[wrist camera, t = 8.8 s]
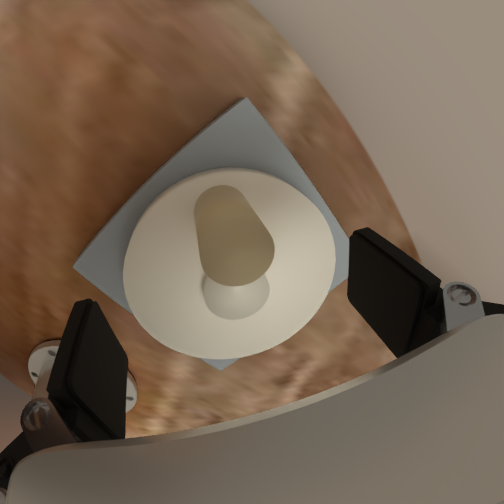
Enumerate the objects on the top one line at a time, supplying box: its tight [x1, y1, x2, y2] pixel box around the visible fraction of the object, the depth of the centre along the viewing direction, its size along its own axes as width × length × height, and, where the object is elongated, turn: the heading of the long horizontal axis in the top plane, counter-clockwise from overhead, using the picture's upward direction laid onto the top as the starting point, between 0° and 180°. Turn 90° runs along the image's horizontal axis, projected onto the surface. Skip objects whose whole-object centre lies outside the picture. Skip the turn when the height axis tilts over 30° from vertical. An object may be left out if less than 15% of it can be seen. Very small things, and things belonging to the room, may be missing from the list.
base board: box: [73, 97, 349, 371], centre depth 21 cm, size 16×16×2 cm
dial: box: [123, 167, 336, 359], centre depth 17 cm, size 14×14×7 cm
